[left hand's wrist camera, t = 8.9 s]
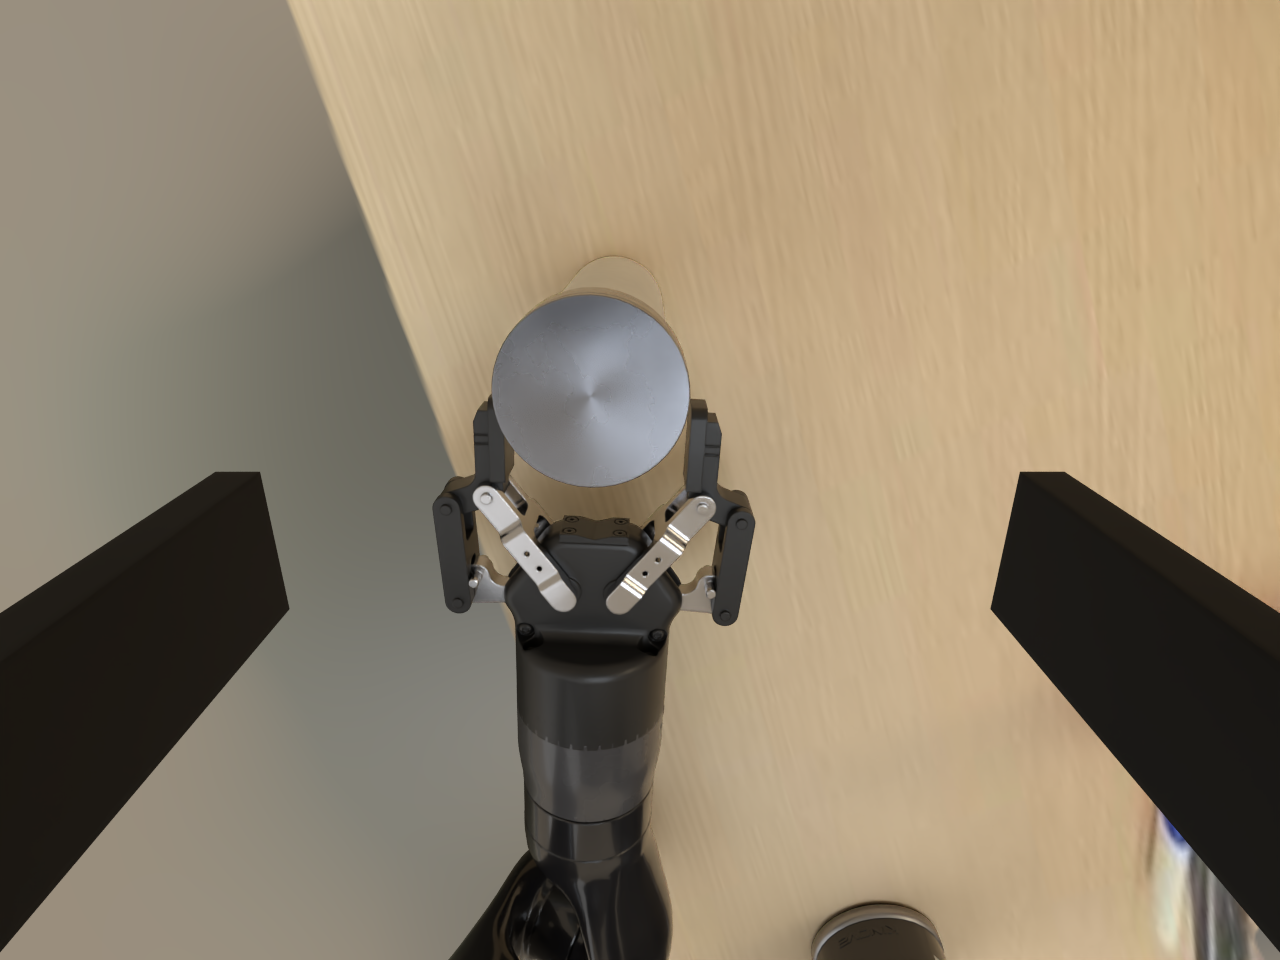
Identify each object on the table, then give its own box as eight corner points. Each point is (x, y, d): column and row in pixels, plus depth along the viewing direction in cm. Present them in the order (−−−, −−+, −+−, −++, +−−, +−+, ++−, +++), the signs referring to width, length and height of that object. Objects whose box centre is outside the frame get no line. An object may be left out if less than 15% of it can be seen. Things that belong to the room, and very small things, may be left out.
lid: (497, 284, 21) (485, 292, 19) (691, 288, 21) (695, 296, 19) (506, 465, 23) (496, 486, 21) (682, 469, 23) (685, 489, 21)
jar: (565, 254, 35) (503, 304, 20) (664, 257, 35) (679, 308, 20) (567, 353, 36) (512, 468, 21) (661, 355, 36) (672, 472, 21)
